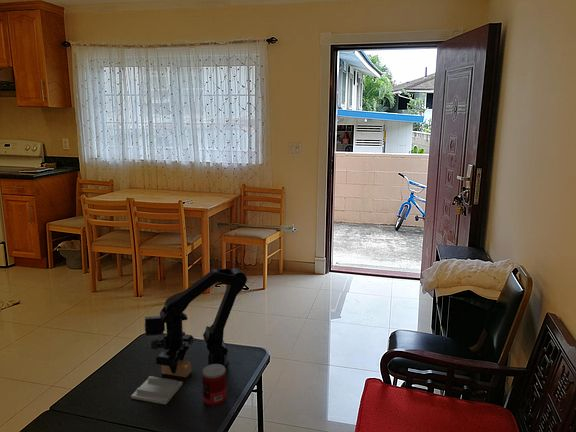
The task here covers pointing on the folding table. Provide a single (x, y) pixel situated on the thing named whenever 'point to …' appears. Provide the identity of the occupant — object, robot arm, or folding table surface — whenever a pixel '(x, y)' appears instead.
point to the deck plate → (157, 390)
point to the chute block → (178, 369)
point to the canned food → (214, 384)
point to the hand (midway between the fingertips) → (176, 370)
